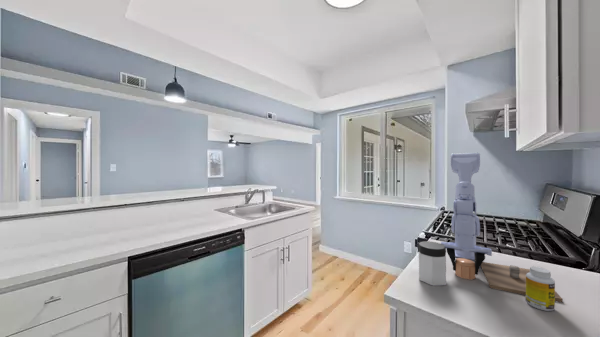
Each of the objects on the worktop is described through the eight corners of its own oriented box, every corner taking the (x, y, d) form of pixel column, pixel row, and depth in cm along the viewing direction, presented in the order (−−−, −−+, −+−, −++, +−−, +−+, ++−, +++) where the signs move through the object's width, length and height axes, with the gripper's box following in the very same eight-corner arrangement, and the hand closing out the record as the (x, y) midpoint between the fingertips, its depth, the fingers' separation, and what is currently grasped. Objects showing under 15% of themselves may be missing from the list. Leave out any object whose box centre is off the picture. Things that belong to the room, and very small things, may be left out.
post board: (479, 263, 90) (479, 252, 90) (536, 273, 82) (536, 260, 82) (490, 287, 73) (490, 273, 73) (562, 302, 65) (562, 286, 65)
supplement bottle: (552, 314, 60) (552, 276, 60) (523, 304, 64) (523, 268, 64) (556, 307, 63) (557, 270, 63) (528, 297, 68) (528, 263, 67)
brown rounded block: (454, 270, 85) (454, 257, 85) (473, 273, 82) (473, 260, 82) (456, 276, 80) (455, 262, 80) (476, 280, 77) (475, 266, 77)
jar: (447, 289, 73) (447, 251, 73) (418, 283, 77) (418, 247, 77) (445, 276, 81) (444, 242, 80) (419, 271, 85) (418, 239, 84)
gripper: (440, 233, 81) (441, 271, 82) (493, 239, 74) (493, 281, 74) (440, 228, 87) (440, 263, 88) (489, 233, 80) (489, 272, 80)
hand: (464, 271), depth 81 cm, fingers closed on brown rounded block, 6 cm apart
